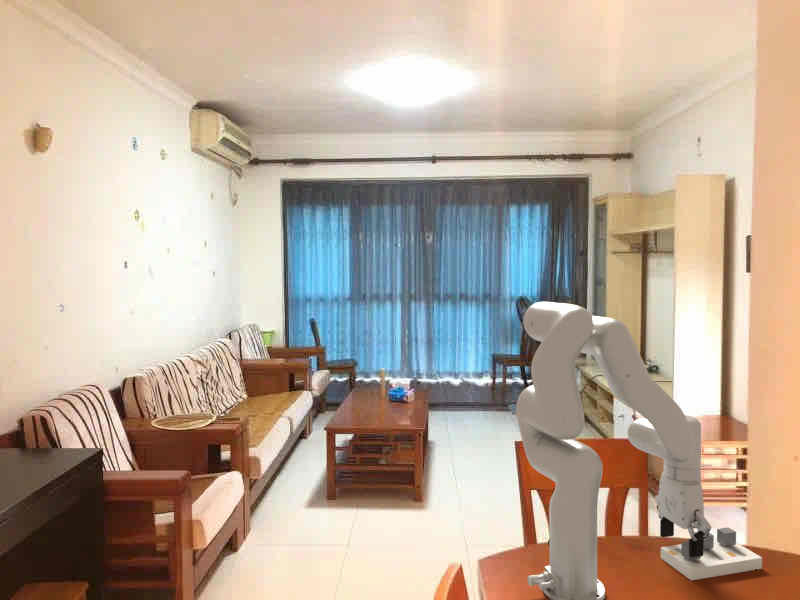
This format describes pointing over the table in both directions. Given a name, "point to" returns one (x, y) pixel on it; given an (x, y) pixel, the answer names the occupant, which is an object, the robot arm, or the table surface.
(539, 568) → the table surface
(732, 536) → the right switch
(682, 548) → the left switch
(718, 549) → the switch box
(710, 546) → the middle switch
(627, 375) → the robot arm
